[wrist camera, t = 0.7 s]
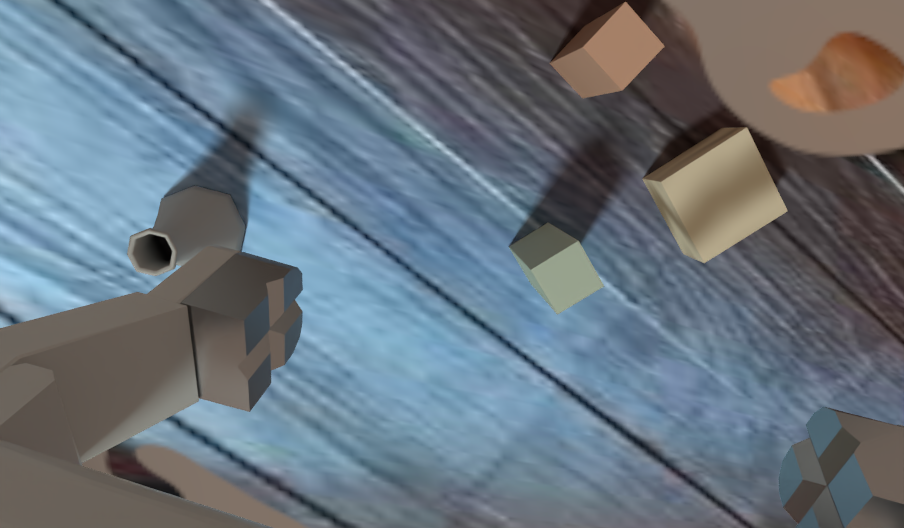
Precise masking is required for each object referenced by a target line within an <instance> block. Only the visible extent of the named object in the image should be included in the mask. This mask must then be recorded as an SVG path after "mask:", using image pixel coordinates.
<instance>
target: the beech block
mask: <svg viewBox="0 0 904 528" xmlns="http://www.w3.org/2000/svg"><path fill="white" fill-rule="evenodd" d="M643 181H644V182H645V184H646V186H647V188H648V190H649V192H650V193H651V195H652V197H653V199H654V201H655V203H656V204H657V206H658V208H659V210H660V212H661V214H662V216H663V217H664V219H665V221H666V223H667V225H668V227H669V228H670V230H671V232H672V234H673V236H674V238H675V239H676V241H677V243H678V245H679V247H680V249H681V250H682V252H683V254H684V255H687V256H689V257H691V258H694V259H696V260H698V261H701V262H703V263H705V262H707V261H708V260H710V259H712V258H713V257H715V256H716V255H718V254H720V253H721V252H723V251H724V250H726V249H728V248H729V247H731V246H732V245H734V244H736V243H737V242H739V241H740V240H742V239H744V238H745V237H747V236H748V235H750V234H752V233H753V232H755V231H756V230H758V229H760V228H761V227H763V226H764V225H766V224H768V223H769V222H771V221H772V220H774V219H776V218H777V217H779V216H780V215H782V214H784V213H785V212H787V209H786V207H785V205H784V203H783V201H782V199H781V196H780V194H779V192H778V190H777V188H776V186H775V184H774V182H773V180H772V178H771V176H770V174H769V172H768V170H767V168H766V166H765V164H764V161H763V159H762V157H761V155H760V153H759V151H758V149H757V147H756V145H755V143H754V141H753V139H752V137H751V135H750V133H749V131H748V128H747V127H737V128H721V129H720V130H718V131H716V132H715V133H713V134H712V135H710V136H709V137H707V138H705V139H704V140H702V141H701V142H699V143H698V144H696V145H694V146H693V147H691V148H690V149H688V150H687V151H685V152H683V153H682V154H680V155H679V156H677V157H676V158H674V159H672V160H671V161H669V162H668V163H666V164H665V165H663V166H661V167H660V168H658V169H657V170H655V171H654V172H652V173H650V174H649V175H647V176H646V177H644V178H643Z"/></svg>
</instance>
